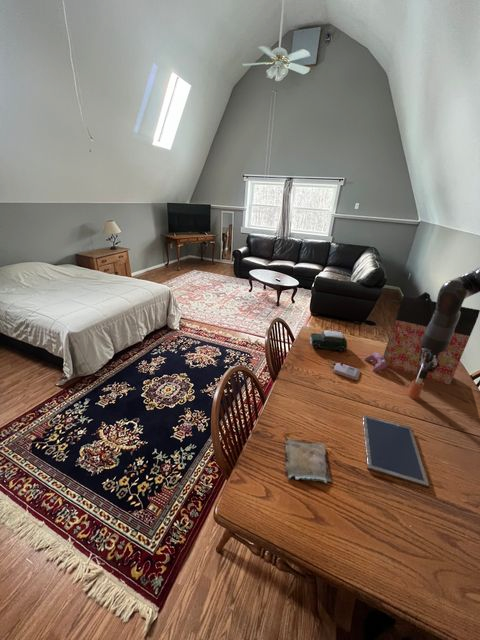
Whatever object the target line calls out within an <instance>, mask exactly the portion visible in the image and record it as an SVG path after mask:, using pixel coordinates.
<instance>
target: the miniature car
mask: <svg viewBox="0 0 480 640" xmlns="http://www.w3.org/2000/svg"><path fill="white" fill-rule="evenodd" d="M309 344H310V345H311V346H312V348H313V349H314V350H319V348H322V349H331V350H338V352H339V353H344V352H345V351H346V350H347V349H348V341H347V339H346V337H345V335H344V333H343V332H340V331H338V330H337V331H336V330H328V329H325V330H323V331H322V332H321V333H310V337H309Z"/></svg>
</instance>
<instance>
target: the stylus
mask: <svg viewBox="0 0 480 640" xmlns="http://www.w3.org/2000/svg"><path fill="white" fill-rule="evenodd" d="M422 366H423V363H422ZM422 366H421V368H420V371H421V369H422ZM426 366H427V365H426ZM420 371H419V374H420ZM419 374H418V375H416V379H415V380H416V382H415V383H416V384H418V385H421V382H423V380H424V379H421V378H419Z"/></svg>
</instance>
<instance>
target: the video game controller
mask: <svg viewBox="0 0 480 640" xmlns="http://www.w3.org/2000/svg"><path fill="white" fill-rule="evenodd" d="M363 360H364V361H365V362H371V364H372V365H373V366H374V367H372V369H371V370H372V372H373V373H374V372H380V371H382V370H383V369H386V368H387V367H388V366H387V362H386V360H385V358H384V357H383V355H382V354H380V353H378V352H372V353H371V354H369V355H367V356H365V357H364V358H363Z"/></svg>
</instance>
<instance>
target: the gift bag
mask: <svg viewBox="0 0 480 640" xmlns="http://www.w3.org/2000/svg"><path fill="white" fill-rule="evenodd" d="M436 302H437V301H433V300H432V298H431V295H430V293H428V292H427V291H425V292H422V294H420V295H419V296H417V297H412V296H406V295H403V296H402V299H401V301H399V300H396V299H392V301H391V304H400V305H399V308H398V311H397V314H396V317H395V321H394V322H393V325H392V329H391V332H390V335H389V338H388V341H387V344H386V347H385V350H384V353H383V355H382V356H383V357H384V358H385V360H386V362H387V366H386V367H389V368H392V369H396V370H398V371H403V372H405V373H408V374H412V375H416V376H418V374H417V371H418V369H419V366H420V364H419V363H420V361H419V356H420V350H421V346H422V344H421V342H422V339H423V336H424V334H425V331H426V329H427V326H428V324H429V323H430V321H431V318H432V316H433V313H434V311H435V309H436ZM460 312H461V314H460V318H459V320H458V322H457V325H456V327H455V330H454V334H453V336H452V338H451V341H450V343H449V345H448V347H447V350H446V351H445V352H440V353H439V357H438V359H437V360H436V361H437V363H439V364H440V365H439V367H438V368H437V369H436V370H435V371H434V372H432V373H431V372H428V375H427V377H426V379H429V380H433V381H435V382H439V383H443V384H446V385H451V384H452V381H453V379H454V376H455V374H456V372H457V368H458V366H459V364H460V361H461V359H462V356H463V354H464V352H465V349H466V347H467V344H468V343H469V339H470V337H471V335H472V333H473V331H474V328H475V326H476V323H477V320H478V318H479V315H480V309H476V308H471V307H465V306H463V305H462V306H461V308H460Z"/></svg>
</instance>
